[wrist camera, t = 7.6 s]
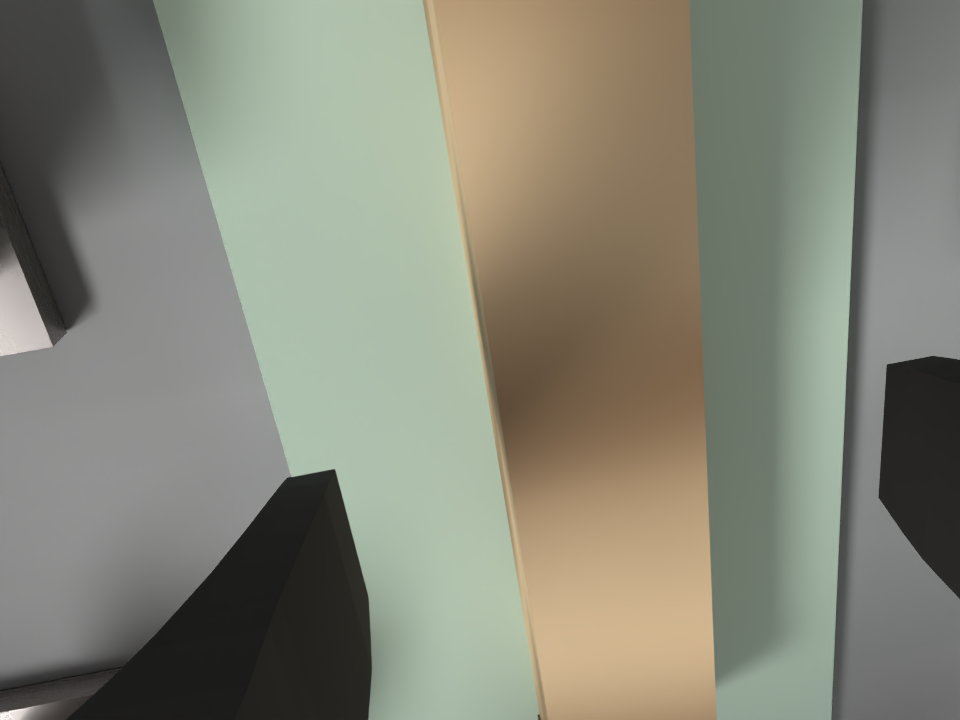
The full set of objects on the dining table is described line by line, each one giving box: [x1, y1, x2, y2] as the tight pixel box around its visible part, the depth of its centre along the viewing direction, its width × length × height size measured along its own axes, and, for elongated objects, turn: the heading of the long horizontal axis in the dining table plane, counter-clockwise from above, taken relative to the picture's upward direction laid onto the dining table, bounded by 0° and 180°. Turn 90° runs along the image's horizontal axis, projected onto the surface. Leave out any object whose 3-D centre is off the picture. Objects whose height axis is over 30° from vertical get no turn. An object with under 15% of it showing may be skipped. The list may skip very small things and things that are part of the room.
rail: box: [423, 0, 717, 720], centre depth 12 cm, size 17×3×3 cm, turn 9°
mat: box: [153, 0, 863, 720], centre depth 14 cm, size 22×10×1 cm, turn 9°
